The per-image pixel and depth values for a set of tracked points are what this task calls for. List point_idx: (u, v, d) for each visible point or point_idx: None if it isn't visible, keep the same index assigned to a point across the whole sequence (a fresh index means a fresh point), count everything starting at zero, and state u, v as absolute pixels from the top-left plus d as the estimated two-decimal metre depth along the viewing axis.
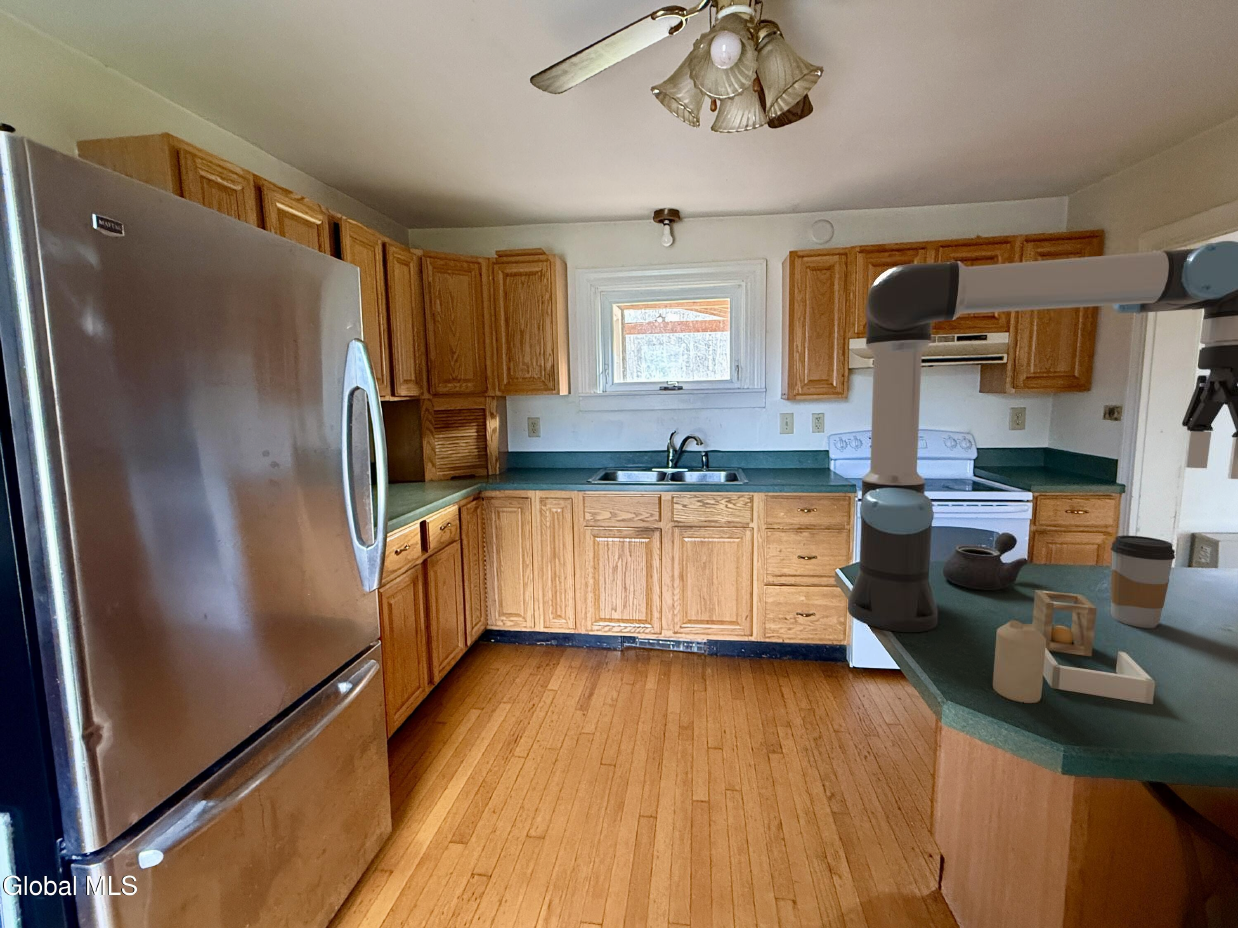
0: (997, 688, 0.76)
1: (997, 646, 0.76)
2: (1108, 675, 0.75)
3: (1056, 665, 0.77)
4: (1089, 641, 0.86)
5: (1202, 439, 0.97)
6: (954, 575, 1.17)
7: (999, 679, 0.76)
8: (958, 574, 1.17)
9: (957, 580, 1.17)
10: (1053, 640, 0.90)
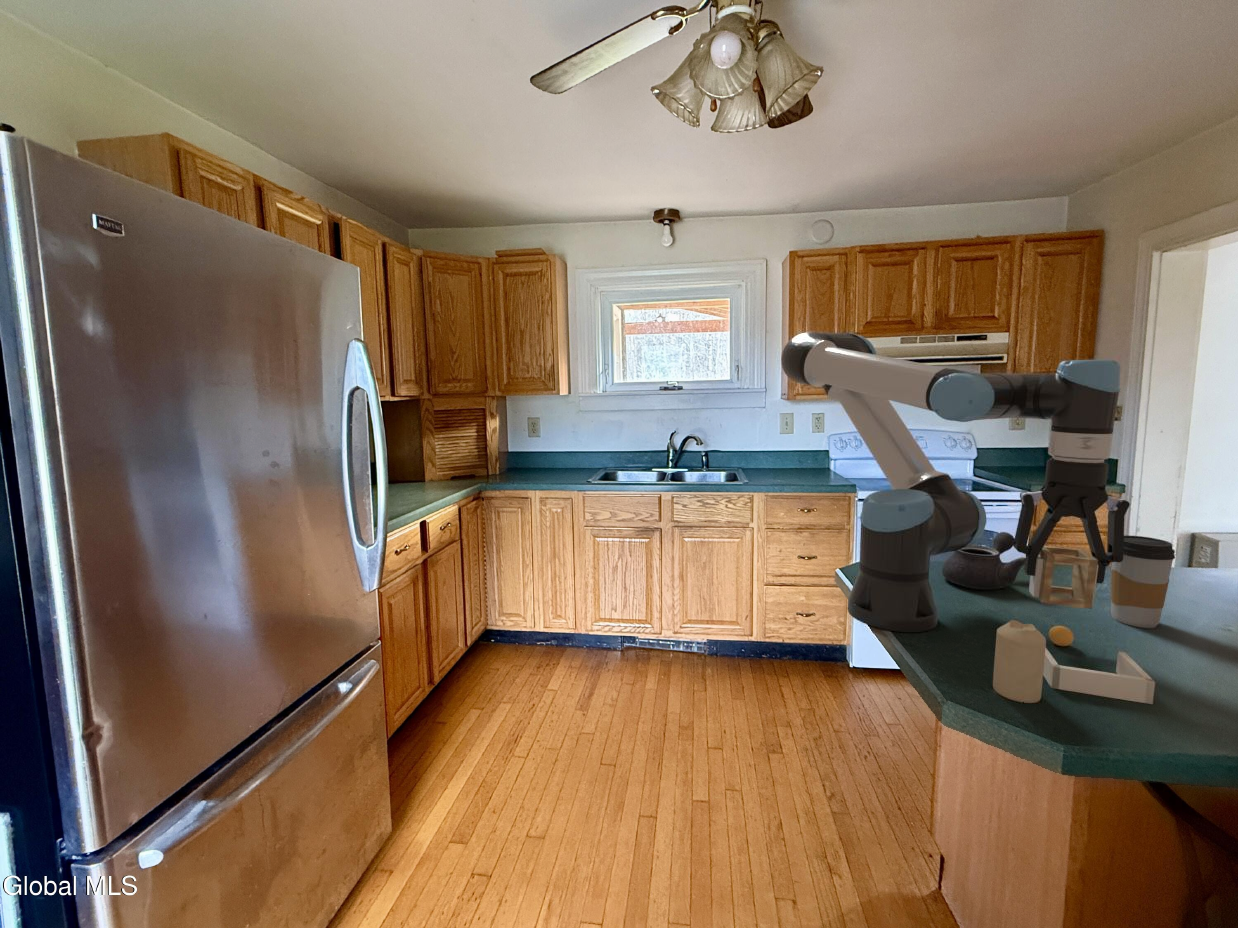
0: (997, 688, 0.76)
1: (997, 646, 0.76)
2: (1108, 675, 0.75)
3: (1056, 665, 0.77)
4: (1089, 594, 0.86)
5: None
6: (954, 575, 1.17)
7: (999, 679, 0.76)
8: (958, 574, 1.17)
9: (957, 580, 1.17)
10: (1053, 640, 0.90)
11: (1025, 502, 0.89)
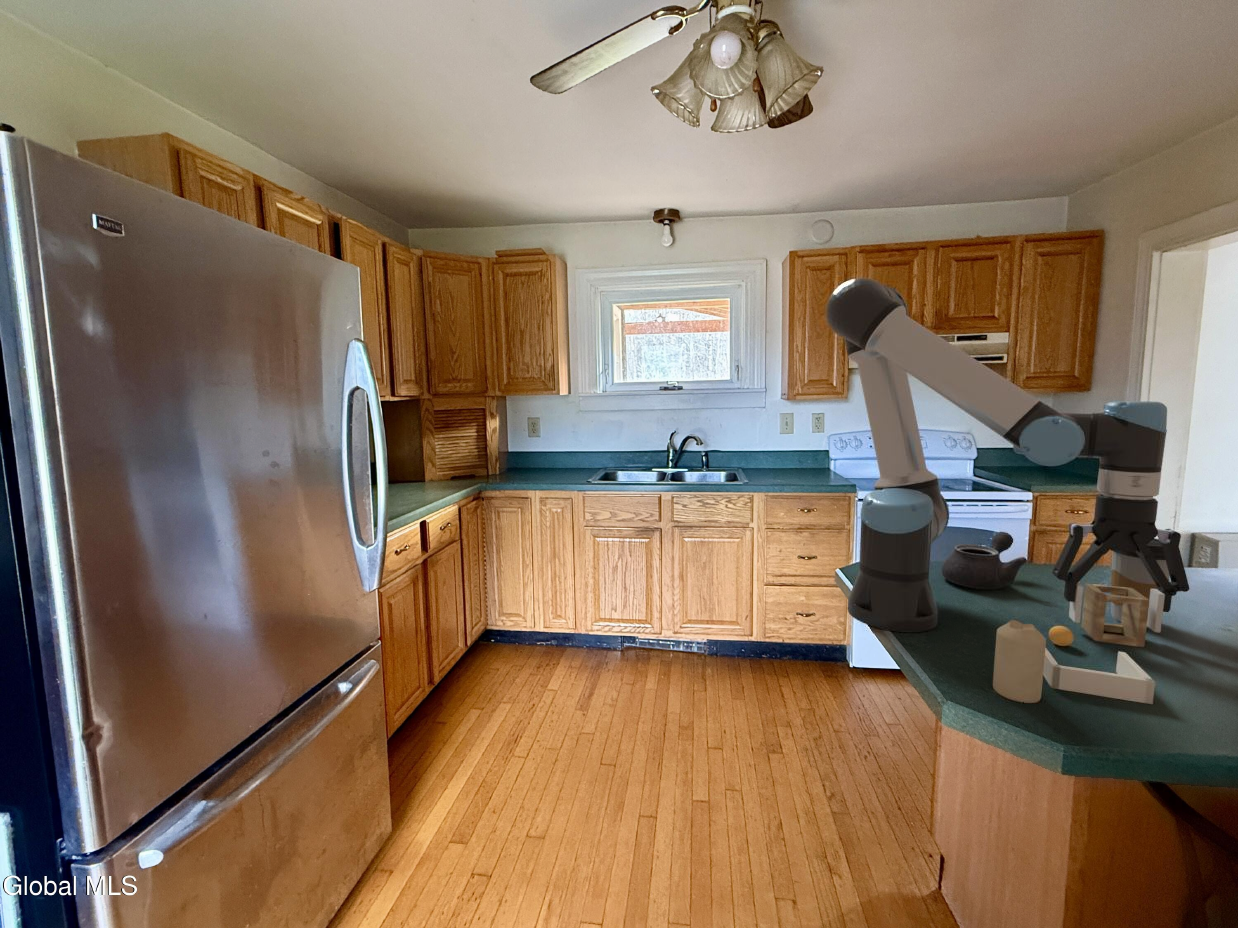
0: (997, 688, 0.76)
1: (997, 646, 0.76)
2: (1108, 675, 0.75)
3: (1056, 665, 0.77)
4: (1142, 632, 0.89)
5: (1154, 599, 0.90)
6: (954, 575, 1.17)
7: (999, 679, 0.76)
8: (958, 574, 1.17)
9: (957, 580, 1.17)
10: (1053, 640, 0.90)
11: (1075, 533, 0.92)
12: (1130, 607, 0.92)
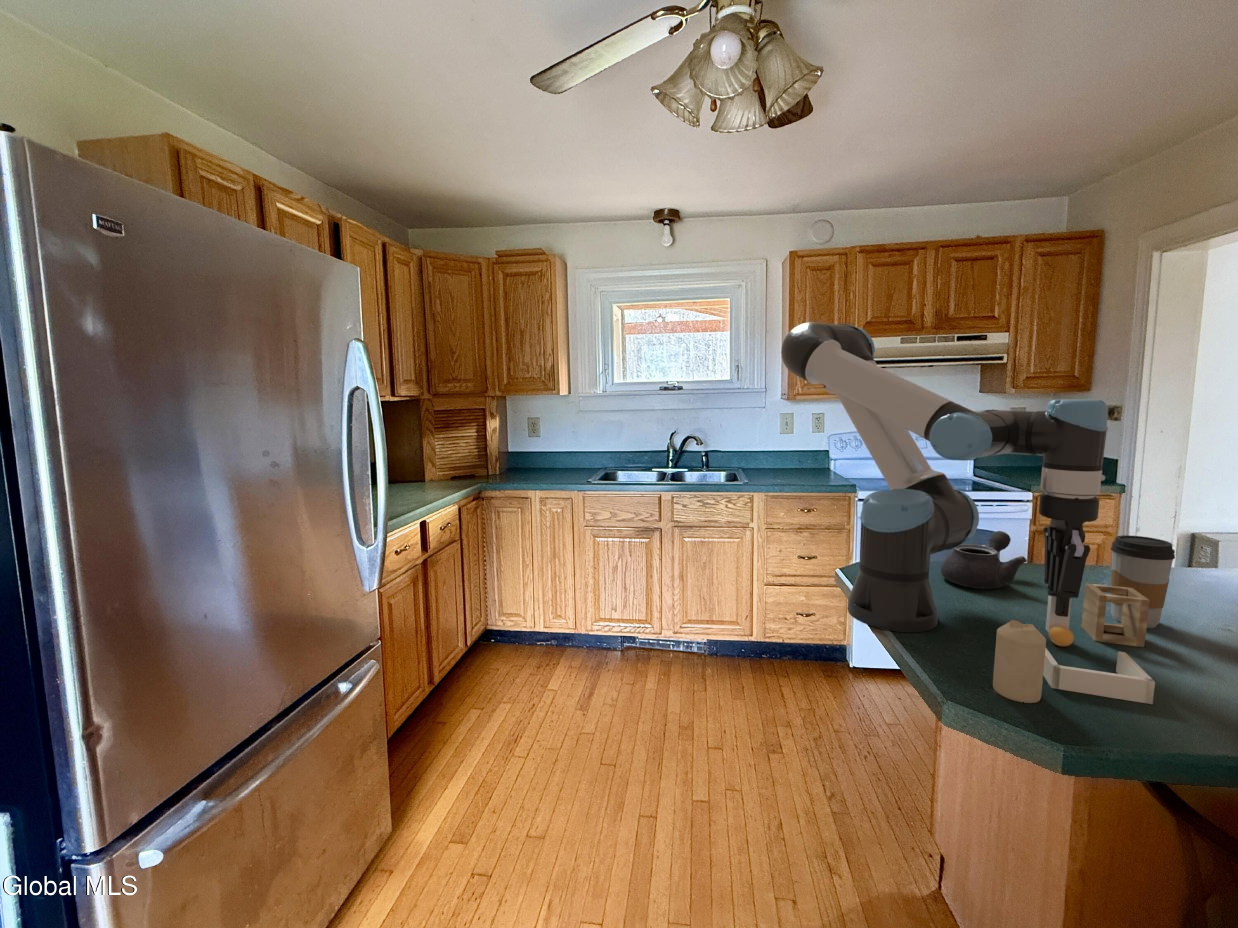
0: (997, 688, 0.76)
1: (997, 646, 0.76)
2: (1108, 675, 0.75)
3: (1056, 665, 0.77)
4: (1142, 632, 0.89)
5: None
6: (954, 575, 1.17)
7: (999, 679, 0.76)
8: (958, 574, 1.17)
9: (957, 580, 1.17)
10: (1053, 640, 0.90)
11: (1087, 554, 0.84)
12: (1130, 607, 0.92)
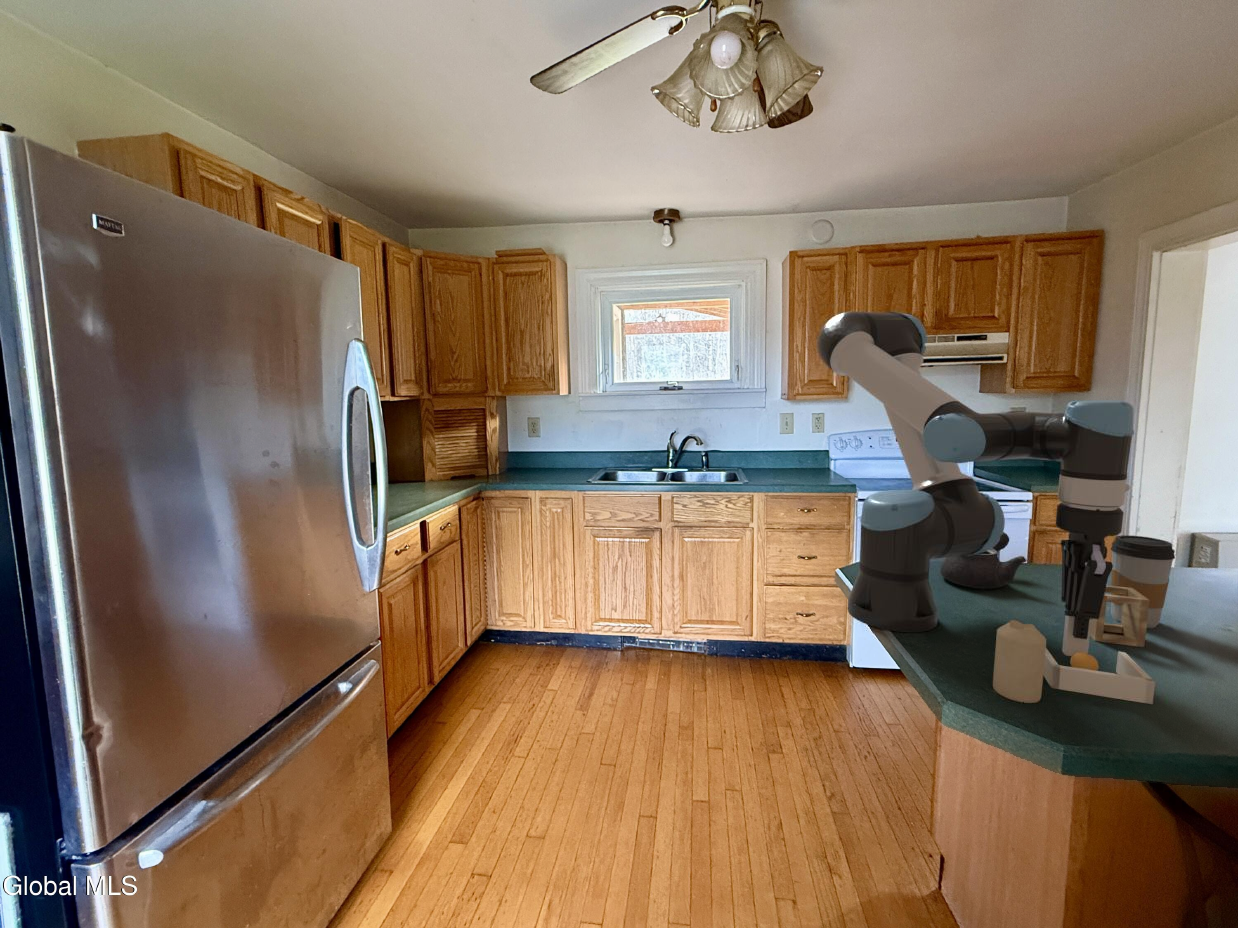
0: (997, 688, 0.76)
1: (997, 646, 0.76)
2: (1108, 675, 0.75)
3: (1056, 665, 0.77)
4: (1142, 632, 0.89)
5: None
6: (954, 575, 1.18)
7: (999, 679, 0.76)
8: (958, 574, 1.17)
9: (957, 580, 1.17)
10: None
11: (1109, 571, 0.77)
12: (1130, 607, 0.92)
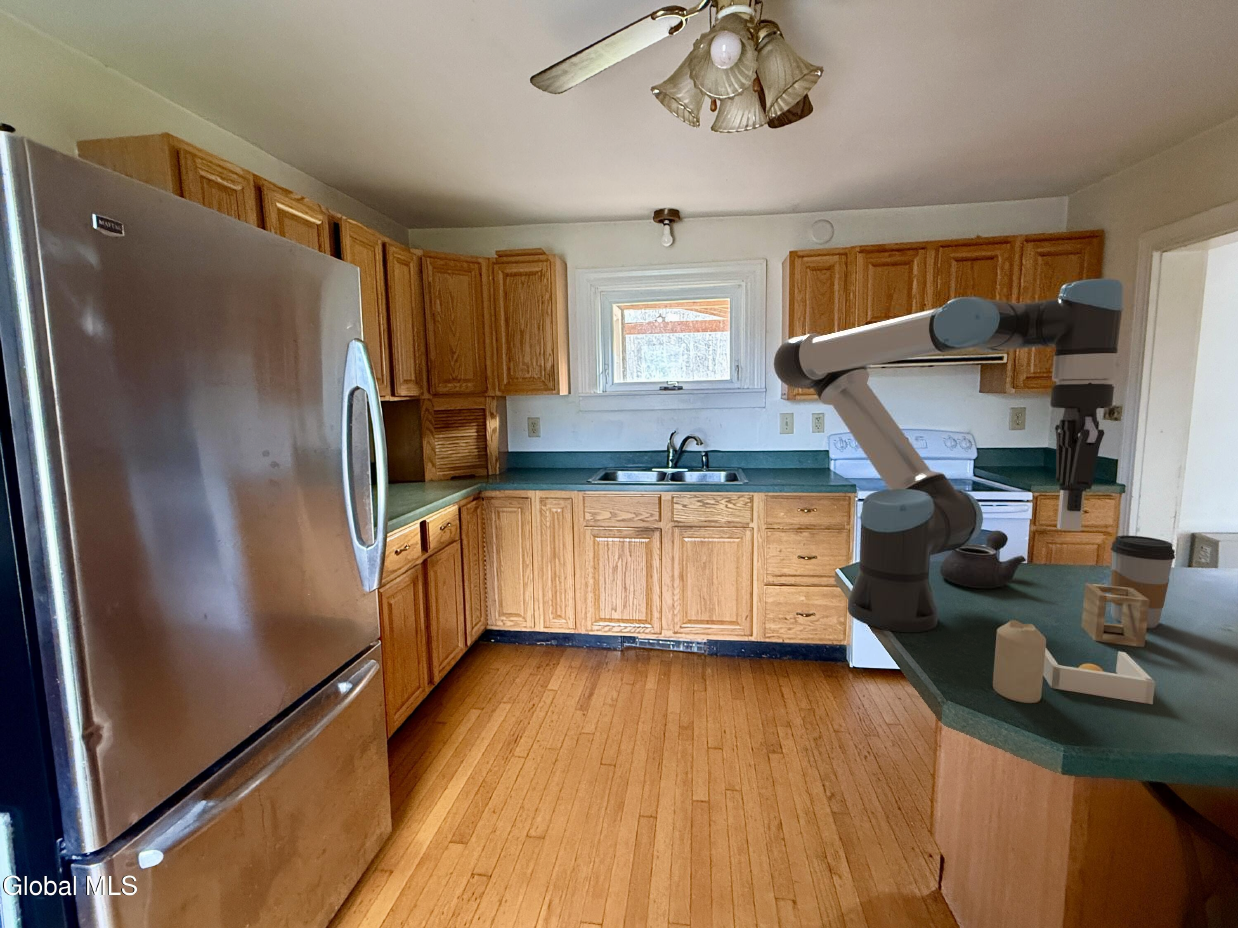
0: (997, 688, 0.76)
1: (997, 646, 0.76)
2: (1108, 675, 0.75)
3: (1056, 665, 0.77)
4: (1142, 632, 0.89)
5: None
6: (954, 575, 1.18)
7: (999, 679, 0.76)
8: (958, 574, 1.17)
9: (957, 579, 1.17)
10: None
11: (1101, 439, 0.81)
12: (1130, 607, 0.92)
